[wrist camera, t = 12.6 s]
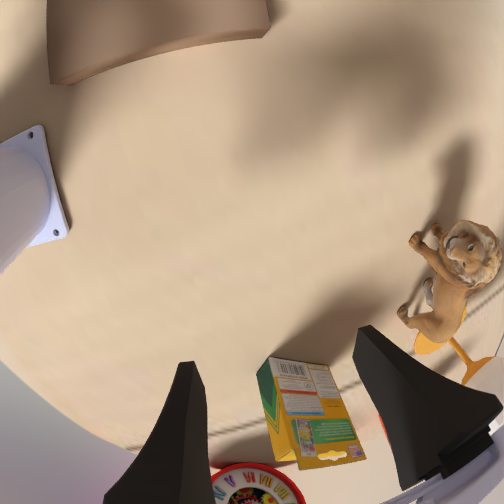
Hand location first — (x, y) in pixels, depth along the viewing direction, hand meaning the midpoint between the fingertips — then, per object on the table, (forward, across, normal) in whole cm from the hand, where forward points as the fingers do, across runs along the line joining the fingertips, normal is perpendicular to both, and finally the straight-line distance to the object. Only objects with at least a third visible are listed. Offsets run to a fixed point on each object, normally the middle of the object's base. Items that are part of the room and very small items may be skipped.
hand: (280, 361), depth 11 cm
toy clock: (+10, +6, +44) cm, 45 cm away
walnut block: (+10, +4, -20) cm, 23 cm away
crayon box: (+10, -3, +14) cm, 17 cm away
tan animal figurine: (+10, -15, +4) cm, 18 cm away
